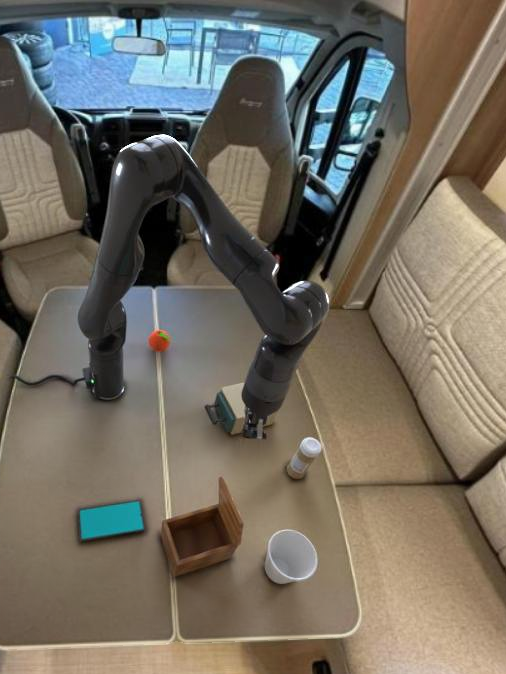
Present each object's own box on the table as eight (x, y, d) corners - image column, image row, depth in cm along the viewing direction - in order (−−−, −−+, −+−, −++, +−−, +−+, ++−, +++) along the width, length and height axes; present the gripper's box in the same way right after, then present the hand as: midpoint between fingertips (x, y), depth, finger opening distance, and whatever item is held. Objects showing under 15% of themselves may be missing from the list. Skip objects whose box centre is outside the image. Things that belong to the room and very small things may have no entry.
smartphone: (77, 509, 98) (139, 500, 100) (78, 511, 99) (139, 501, 101) (79, 541, 94) (144, 530, 96) (80, 542, 94) (144, 531, 96)
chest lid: (239, 524, 75) (243, 523, 75) (218, 477, 81) (222, 475, 81) (237, 545, 86) (240, 544, 86) (218, 502, 92) (221, 501, 92)
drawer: (213, 436, 113) (216, 423, 108) (200, 408, 118) (203, 395, 114) (264, 422, 116) (270, 409, 111) (249, 396, 122) (254, 383, 117)
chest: (174, 577, 90) (177, 565, 84) (160, 534, 96) (162, 520, 90) (230, 558, 93) (238, 545, 87) (213, 517, 99) (219, 503, 92)
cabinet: (231, 435, 114) (237, 418, 108) (216, 404, 121) (220, 387, 114) (272, 424, 117) (280, 407, 111) (255, 395, 123) (261, 378, 117)
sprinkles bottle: (307, 473, 107) (326, 447, 97) (295, 482, 106) (313, 457, 95) (294, 460, 110) (311, 433, 99) (282, 468, 108) (298, 442, 98)
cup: (250, 547, 95) (262, 531, 86) (292, 544, 96) (308, 527, 87) (262, 595, 88) (276, 582, 80) (307, 591, 89) (325, 578, 81)
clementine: (176, 347, 135) (178, 331, 130) (165, 360, 131) (166, 345, 126) (155, 337, 138) (156, 322, 132) (144, 350, 134) (144, 334, 128)
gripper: (243, 353, 77) (227, 407, 90) (248, 412, 69) (230, 462, 82) (284, 357, 77) (262, 410, 90) (294, 415, 68) (268, 465, 82)
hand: (246, 435), depth 86 cm, fingers closed
